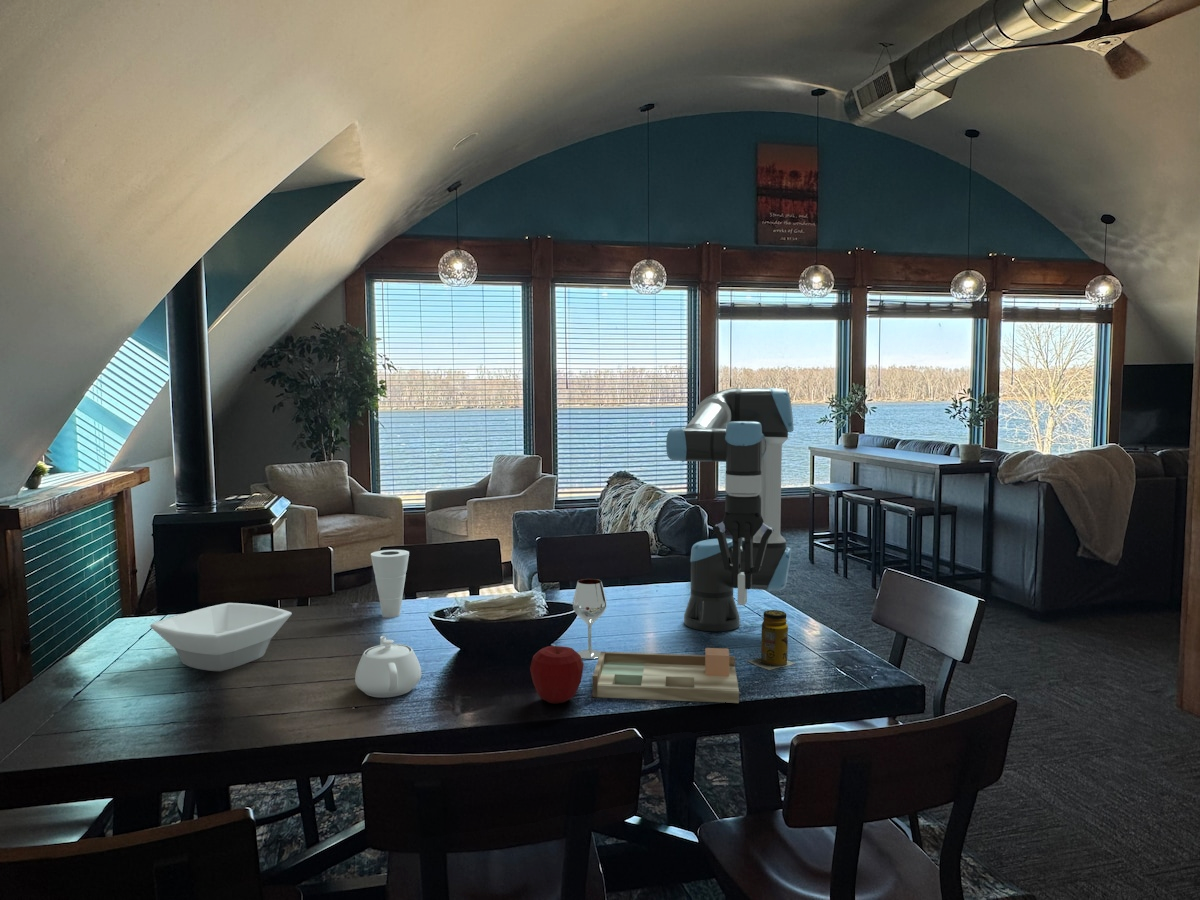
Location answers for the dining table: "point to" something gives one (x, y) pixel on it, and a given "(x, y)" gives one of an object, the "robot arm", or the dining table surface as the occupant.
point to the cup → (390, 579)
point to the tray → (662, 678)
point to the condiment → (773, 641)
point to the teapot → (388, 670)
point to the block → (716, 662)
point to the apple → (556, 673)
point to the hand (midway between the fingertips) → (742, 603)
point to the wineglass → (589, 608)
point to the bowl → (222, 634)
